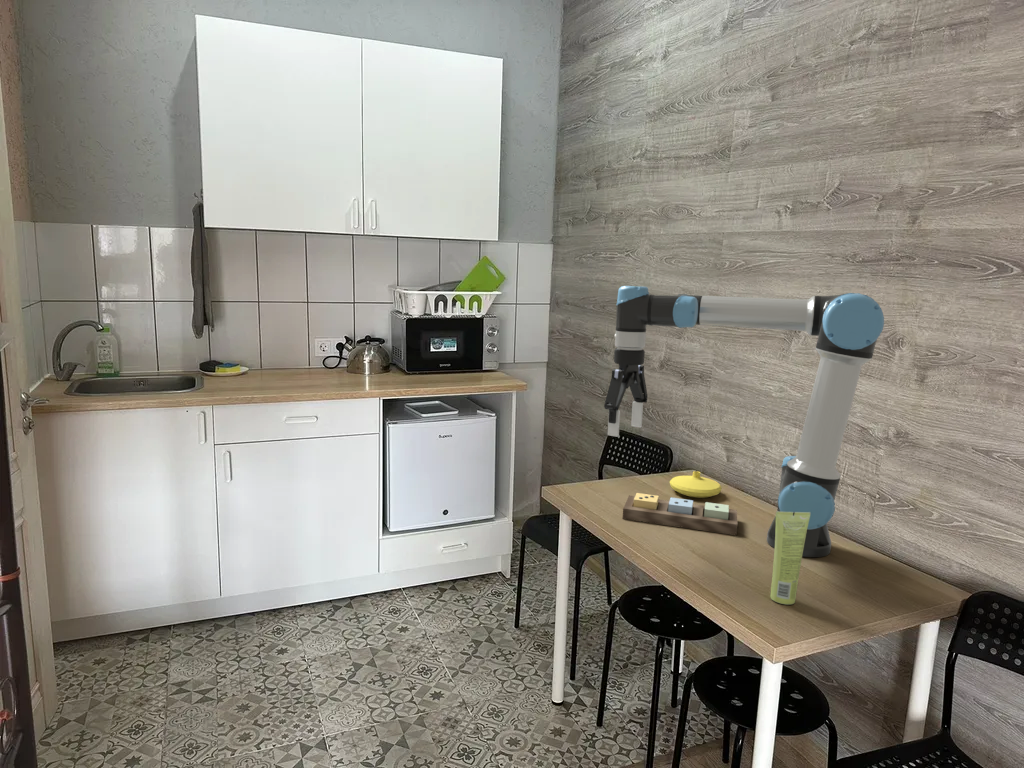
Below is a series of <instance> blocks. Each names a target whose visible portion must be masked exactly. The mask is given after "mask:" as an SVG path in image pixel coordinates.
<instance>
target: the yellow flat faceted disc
mask: <svg viewBox="0 0 1024 768" xmlns="http://www.w3.org/2000/svg"><path fill="white" fill-rule="evenodd" d="M669 485H670V487H671V489H673V490H674V491H675V492H677V493H679V494H681V495H684V496H686V497H691V498H700V499H701V498H702V499H705V498H709V497H710V498H711V497H714V496H718V495H719V494H720V493H721V491H722V485H721V484H720V483H719V482H717V481H716V480H715V479H711V478H709V477H704V476H701V472H700V471H698V470H697V471H696V470H694V471H692V475H677V476H673V477H672V478H671V479H670V480H669Z"/></svg>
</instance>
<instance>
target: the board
mask: <svg viewBox="0 0 1024 768" xmlns="http://www.w3.org/2000/svg"><path fill="white" fill-rule="evenodd" d="M635 496H636V495H628V497H627V498H626V502H625V503H624V506H623V509H622V519H623V520H627V519H628V520H629V521H634V520H636V521H635V522H641V521H643V522H644V523H648V522H649V523H648V524H656V525H662V526H670V527H677V528H683V529H690V530H698V531H704V532H712V533H718V534H724V535H732V536H737V534H738V525H739V524H738V511H737V509H734V508H733V509H731V508H729V514H728V520H724V519H717V518H710V517H704V511H705V505H702V504H696V503H693V507H692V515H688V514H681V513H674V512H668V507H669V501H670V500H667V499H666V500H665V499H659V498H658V507H657V510H653V509H646V508H638V507H633V504H634V498H635Z"/></svg>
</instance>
